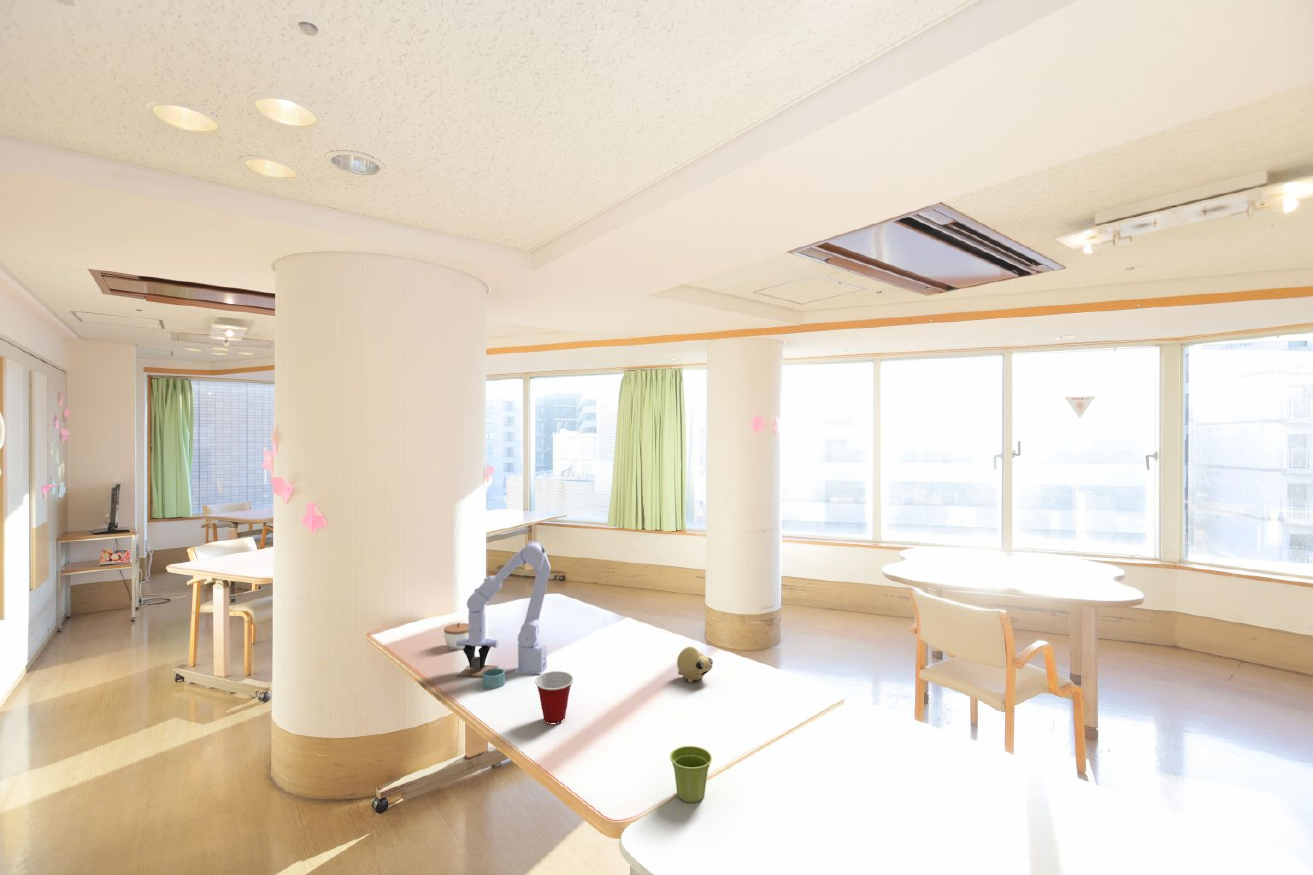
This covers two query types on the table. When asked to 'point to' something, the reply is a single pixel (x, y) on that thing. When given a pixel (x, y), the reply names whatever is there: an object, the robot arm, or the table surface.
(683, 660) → the tan toy animal
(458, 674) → the mat
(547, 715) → the plastic cup
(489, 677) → the bowl
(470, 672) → the cover
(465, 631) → the lidded jar
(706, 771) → the plant pot
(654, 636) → the table surface
